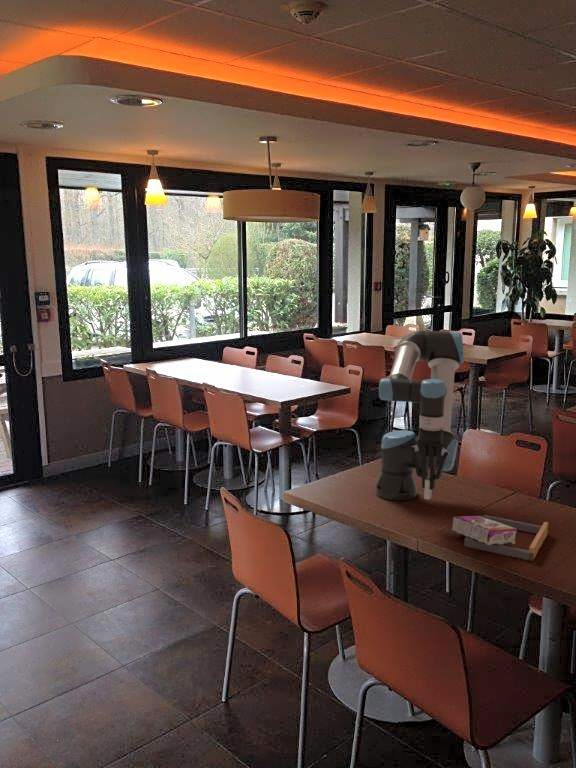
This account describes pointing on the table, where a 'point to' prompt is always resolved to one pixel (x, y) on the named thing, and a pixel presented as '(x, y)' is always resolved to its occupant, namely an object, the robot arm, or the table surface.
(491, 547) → the u-shaped frame
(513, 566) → the table surface
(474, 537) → the candy bar box
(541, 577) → the table surface
